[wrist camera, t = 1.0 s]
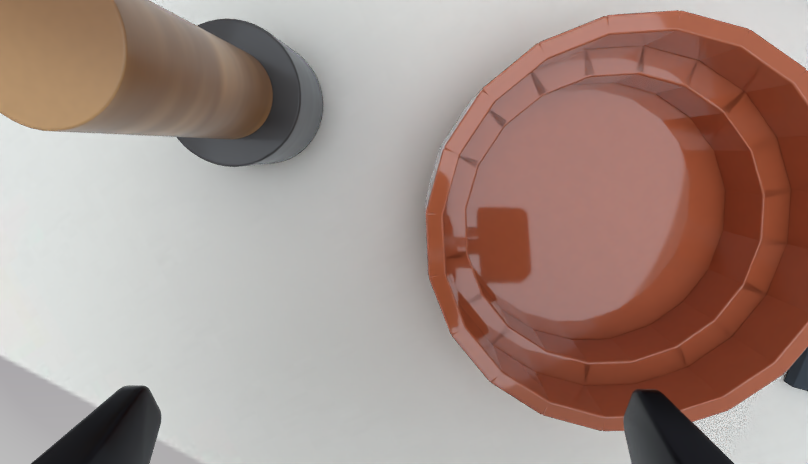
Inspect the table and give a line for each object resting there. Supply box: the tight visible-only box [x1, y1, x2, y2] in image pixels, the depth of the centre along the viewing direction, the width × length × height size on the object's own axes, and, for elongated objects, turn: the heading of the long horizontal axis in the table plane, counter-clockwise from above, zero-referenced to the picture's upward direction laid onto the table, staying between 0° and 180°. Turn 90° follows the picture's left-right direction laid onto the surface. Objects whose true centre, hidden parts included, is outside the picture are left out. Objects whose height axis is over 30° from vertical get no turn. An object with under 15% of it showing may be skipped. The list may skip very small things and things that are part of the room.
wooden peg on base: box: [0, 0, 323, 167], centre depth 16 cm, size 5×5×13 cm
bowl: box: [425, 10, 808, 431], centre depth 20 cm, size 14×14×6 cm
